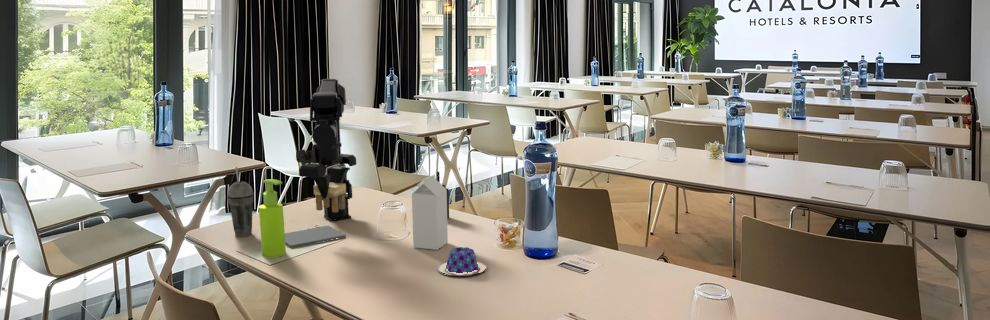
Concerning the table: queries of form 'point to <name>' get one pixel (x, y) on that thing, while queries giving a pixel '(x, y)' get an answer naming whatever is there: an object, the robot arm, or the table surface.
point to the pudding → (461, 260)
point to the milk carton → (429, 215)
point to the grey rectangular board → (311, 236)
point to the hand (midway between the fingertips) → (330, 195)
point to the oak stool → (333, 191)
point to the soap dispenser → (272, 222)
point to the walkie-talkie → (447, 194)
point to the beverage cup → (241, 207)
